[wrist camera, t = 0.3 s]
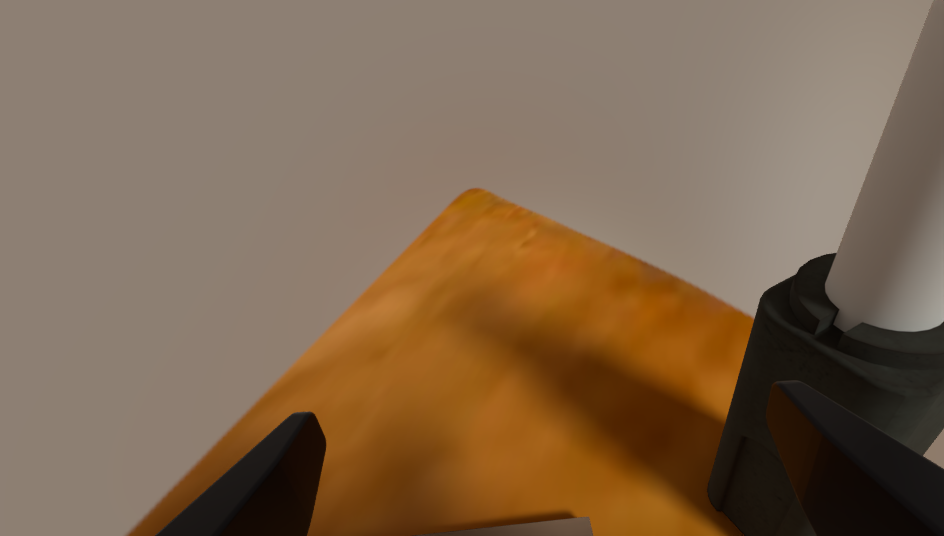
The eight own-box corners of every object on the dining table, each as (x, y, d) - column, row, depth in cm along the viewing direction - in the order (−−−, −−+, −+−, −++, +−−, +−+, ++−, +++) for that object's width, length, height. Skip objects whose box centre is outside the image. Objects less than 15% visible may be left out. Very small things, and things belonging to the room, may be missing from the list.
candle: (873, 529, 21) (1563, -348, 6) (791, 591, 20) (1406, -325, 5) (770, 440, 25) (1035, -229, 10) (696, 488, 24) (870, -199, 9)
